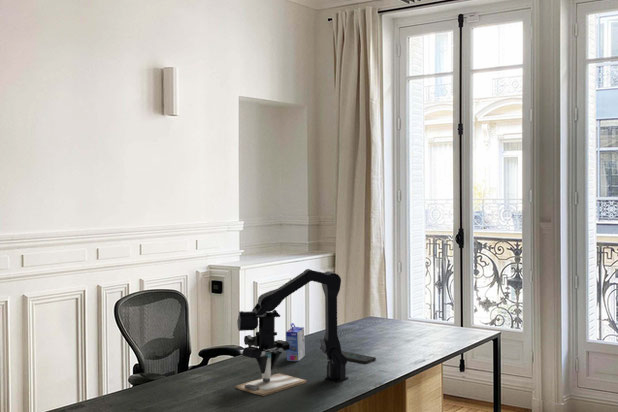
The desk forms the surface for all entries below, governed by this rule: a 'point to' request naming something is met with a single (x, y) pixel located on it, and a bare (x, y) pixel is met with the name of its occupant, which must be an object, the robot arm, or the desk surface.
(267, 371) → the marker
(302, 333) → the ink cartridge box
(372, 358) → the smart home device
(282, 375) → the clipboard
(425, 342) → the desk surface
